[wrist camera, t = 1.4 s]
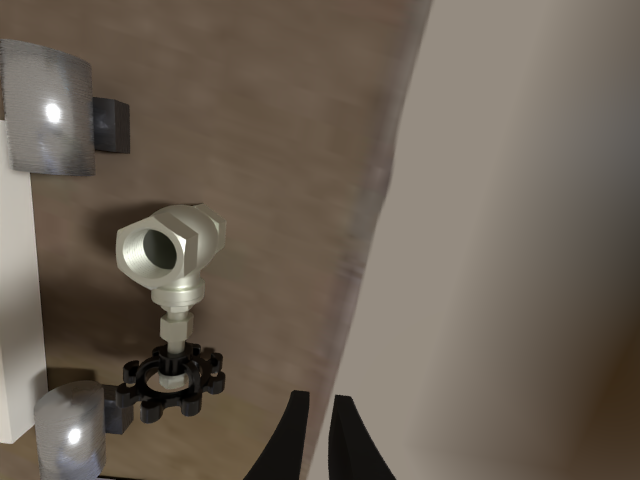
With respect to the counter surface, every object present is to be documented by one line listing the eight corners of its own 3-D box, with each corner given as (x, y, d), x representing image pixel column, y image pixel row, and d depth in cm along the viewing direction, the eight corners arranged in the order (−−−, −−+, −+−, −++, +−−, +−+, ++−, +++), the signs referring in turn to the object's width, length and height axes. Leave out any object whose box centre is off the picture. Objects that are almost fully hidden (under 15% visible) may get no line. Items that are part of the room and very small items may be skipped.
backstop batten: (49, 410, 24) (12, 443, 21) (24, 408, 24) (-17, 440, 21) (25, 124, 19) (-27, 115, 16) (-6, 120, 19) (-65, 110, 16)
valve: (156, 193, 20) (152, 348, 23) (80, 202, 14) (86, 416, 17) (252, 207, 21) (237, 360, 23) (220, 222, 14) (205, 431, 17)
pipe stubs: (133, 435, 25) (87, 499, 20) (79, 429, 24) (19, 493, 20) (129, 79, 19) (61, 46, 14) (58, 70, 19) (-36, 33, 14)
